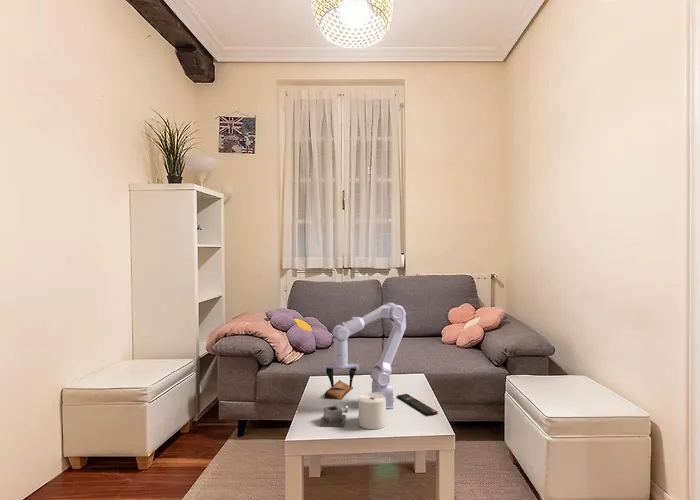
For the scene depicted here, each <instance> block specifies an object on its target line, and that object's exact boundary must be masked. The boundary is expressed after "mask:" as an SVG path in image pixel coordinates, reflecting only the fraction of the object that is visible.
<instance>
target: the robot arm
mask: <svg viewBox="0 0 700 500" xmlns="http://www.w3.org/2000/svg"><path fill="white" fill-rule="evenodd" d="M406 316H407V312H406V311H405V309H404V307H403V306H402V305H401V304H396V303H394V302H387V303H386V304H383V305H381V306H379V307H378V308H376V309H373V311H371V312H369V313H367V314H365V315H364V316H362V317H359V316H351V319H350V320H348V321H343V322H341V324H336V325H335V326H334V327H333V329H332V331H331V333H332V336H333V342H334V343H333V361H334V362H333V363H332V362H331V363H324V364H323V370H326V371H325V374H326V375H327V376H328V380H329V382H330V388H331V387H333V386H334V384H335V382H334V370H349V386H350V387H353V379H354V378H355V375H356V372H357V371H359V368H360V367H359V366H360V365H359V363H350V362H349V351H348V350H349V349H348V345H349V344H348V339H349V337H350V336H352V335H354V334H356V333H357V332H360V331H362V330H364V327H365V326H366V325H367V324H370V323H372V322H374V321H376V320H378V319H381V318H386V319H389V321H390V323H391V324H392V329H391V331H390V333H389V335H388V338H387V341H386V343H385V345H384V348H383V350H382V353H381V356H380V358H379V360H378V361H376V362H375V364H374V366H373V367H372V368H371V369H370V372H369V376H370V378H371V379H372V380H371V393H373V392H384V396H385V397H386V409H394V403H395V397H394V384H391V383H390V382H391V374H392V363H393V361H394V358H395V356H396V354H397V351H398V348H399V346H400V343H401V341H402V339H403V336H404V333H405V331H406V329H407V322H406V321H407V320H406Z"/></svg>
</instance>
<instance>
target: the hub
mask: <svg viewBox="0 0 700 500" xmlns="http://www.w3.org/2000/svg"><path fill="white" fill-rule="evenodd" d="M346 420H347V414H342V420H340V421H335V422H331V423H329V422H328V421H327V420H326V419H324V415H322V418H321V420H320V422H319V423H320V424H319V426H320V427H327V428H329V427H331V428H334V427H335V428H344V426H345V423H346Z"/></svg>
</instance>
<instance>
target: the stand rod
mask: <svg viewBox="0 0 700 500" xmlns="http://www.w3.org/2000/svg"><path fill="white" fill-rule="evenodd" d="M343 407H344V409H343V410H344V413H349V406H348V405H347V404H346V405H344V406H343Z"/></svg>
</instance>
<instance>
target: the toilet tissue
mask: <svg viewBox="0 0 700 500" xmlns="http://www.w3.org/2000/svg"><path fill="white" fill-rule="evenodd" d="M358 425H359V426H360V427H362V428H364V429H367V430H378V429H382V428H385V426H386V425H387V408H386V397H385V396H384V392H373V393H372V392H368V393H364V394H361V395H359V396H358Z"/></svg>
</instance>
